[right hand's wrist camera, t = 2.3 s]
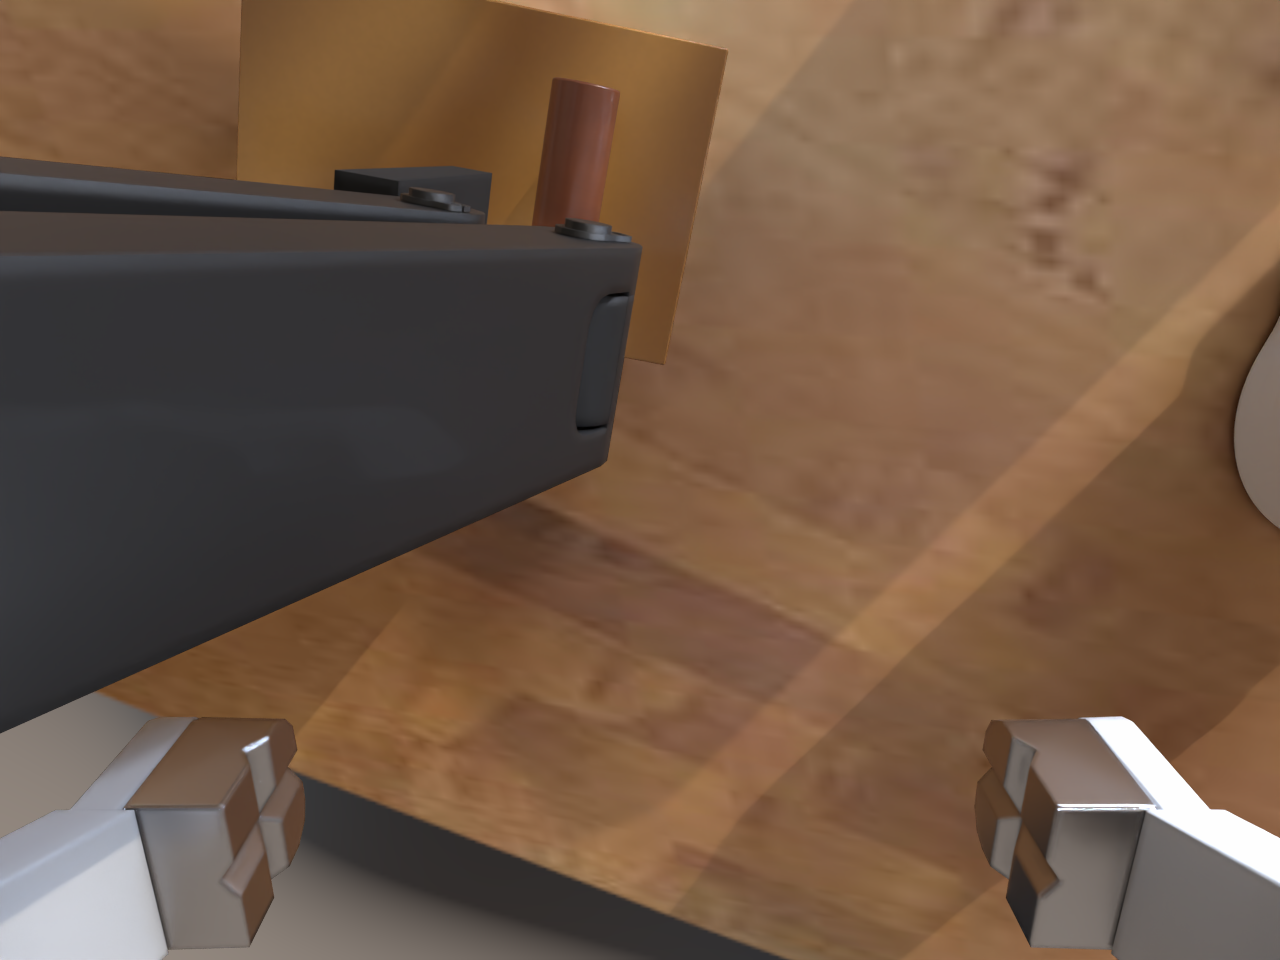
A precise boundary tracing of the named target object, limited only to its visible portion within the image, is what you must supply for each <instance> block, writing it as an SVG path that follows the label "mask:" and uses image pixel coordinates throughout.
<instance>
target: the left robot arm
mask: <svg viewBox="0 0 1280 960" xmlns="http://www.w3.org/2000/svg"><path fill="white" fill-rule="evenodd" d="M491 181H492V173H489V172H484V171H478V170H472V169H467V168H461V167H456V166H433V167H403V168H372V169H342V170H335V173H334V190H331V189H321V188H311V187H301V186H291V185H281V184H270V183H260V182H250V181H240V180H230V179H220V178H210V177H200V176H190V175H180V174H170V173H160V172H150V171H140V170H130V169H120V168H110V167H100V166H90V165H80V164H70V163H60V162H50V161H40V160H30V159H20V158H10V157H0V733H2V732H4V731H7V730H9V729H11V728H13V727H16V726H18V725H20V724H22V723H25V722H27V721H29V720H31V719H34V718H36V717H38V716H40V715H42V714H45V713H47V712H49V711H52V710H54V709H56V708H58V707H61V706H63V705H65V704H67V703H70V702H72V701H74V700H76V699H79V698H81V697H83V696H85V695H88V694H90V693H92V692H94V691H97V690H99V689H101V688H103V687H106V686H108V685H110V684H112V683H115V682H117V681H119V680H121V679H124V678H126V677H128V676H130V675H133V674H135V673H137V672H139V671H142V670H144V669H146V668H148V667H150V666H153V665H155V664H157V663H159V662H162V661H164V660H166V659H168V658H171V657H173V656H175V655H177V654H180V653H182V652H184V651H186V650H189V649H191V648H193V647H195V646H198V645H200V644H202V643H204V642H207V641H209V640H211V639H213V638H216V637H218V636H220V635H222V634H225V633H227V632H229V631H231V630H234V629H236V628H238V627H240V626H243V625H245V624H247V623H249V622H252V621H254V620H256V619H258V618H261V617H263V616H265V615H267V614H270V613H272V612H274V611H276V610H278V609H281V608H283V607H285V606H287V605H290V604H292V603H294V602H296V601H299V600H301V599H303V598H305V597H308V596H310V595H312V594H314V593H317V592H319V591H321V590H323V589H326V588H328V587H330V586H332V585H335V584H337V583H339V582H341V581H344V580H346V579H348V578H350V577H353V576H355V575H357V574H359V573H362V572H364V571H366V570H368V569H371V568H373V567H375V566H377V565H380V564H382V563H384V562H386V561H389V560H391V559H393V558H395V557H398V556H400V555H402V554H404V553H406V552H409V551H411V550H413V549H415V548H418V547H420V546H422V545H424V544H427V543H429V542H431V541H433V540H436V539H438V538H440V537H442V536H445V535H447V534H449V533H451V532H454V531H456V530H458V529H460V528H463V527H465V526H467V525H469V524H472V523H474V522H476V521H478V520H481V519H483V518H485V517H487V516H490V515H492V514H494V513H496V512H499V511H501V510H503V509H505V508H508V507H510V506H512V505H514V504H517V503H519V502H521V501H523V500H526V499H528V498H530V497H532V496H535V495H537V494H539V493H541V492H543V491H546V490H548V489H550V488H552V487H555V486H557V485H559V484H561V483H564V482H566V481H568V480H570V479H573V478H575V477H577V476H579V475H582V474H584V473H586V472H588V471H591V470H593V469H595V468H597V467H600V466H601V465H602V464H604V463H605V462H606V461H607V458H608V452H609V446H610V440H611V434H612V428H613V422H614V416H615V410H616V404H617V398H618V392H619V386H620V380H621V374H622V368H623V362H624V356H625V350H626V344H627V338H628V332H629V326H630V320H631V314H632V308H633V302H634V296H635V290H636V284H637V278H638V272H639V266H640V260H641V254H642V248H643V247H642V246H641V245H640V244H637V243H634V242H631V240H632V236H629V235H626V234H623V233H619V232H613V231H611V230H612V226H611V225H608V224H604V223H600V222H595V221H590V220H584V219H577V218H565V224H556V225H555V227H547V226H523V225H488V224H487V218H488V209H489V199H490V190H491Z"/></svg>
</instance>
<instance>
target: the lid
mask: <svg viewBox="0 0 1280 960" xmlns="http://www.w3.org/2000/svg"><path fill="white" fill-rule="evenodd" d="M727 55H728V49H726V48H722V47H717V46H712V45H707V44H703V43H698V42H693V41H688V40H683V39H679V38H674V37H669V36H664V35H660V34H655V33H650V32H645V31H640V30H636V29H631V28H626V27H621V26H616V25H612V24H607V23H602V22H597V21H592V20H588V19H583V18H578V17H573V16H568V15H564V14H559V13H554V12H549V11H544V10H540V9H535V8H530V7H525V6H521V5H516V4H511V3H506V2H501V1H497V0H242V9H241V42H240V75H239V109H238V142H237V175H236V180H240V181H250V182H260V183H270V184H281V185H291V186H301V187H311V188H321V189H331V190H334V173H335V170H342V169H372V168H403V167H433V166H456V167H461V168H467V169H472V170H478V171H484V172H489V173H492V181H491V190H490V199H489V209H488V218H487V224H488V225H523V226H547V227H555V225H556V224H565V218H577V219H584V220H590V221H595V222H600V223H604V224H608V225H611V226H612V230H611V231H613V232H619V233H623V234H626V235H629V236H632V240H631V242H634V243H637V244H640V245H641V246H642V247H643V248H642V254H641V260H640V266H639V272H638V278H637V284H636V290H635V296H634V302H633V308H632V314H631V320H630V326H629V332H628V338H627V344H626V350H625V356H624V358H630V359H635V360H640V361H646V362H651V363H656V364H661V365H664V364H665V362H666V357H667V352H668V347H669V342H670V337H671V332H672V327H673V322H674V317H675V312H676V307H677V302H678V297H679V293H680V288H681V283H682V278H683V273H684V268H685V263H686V258H687V253H688V248H689V243H690V238H691V233H692V228H693V223H694V218H695V213H696V208H697V203H698V198H699V194H700V189H701V184H702V179H703V174H704V169H705V164H706V159H707V154H708V149H709V144H710V139H711V134H712V129H713V124H714V119H715V114H716V109H717V104H718V99H719V95H720V90H721V85H722V80H723V75H724V70H725V65H726V60H727Z"/></svg>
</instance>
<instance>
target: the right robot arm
mask: <svg viewBox="0 0 1280 960" xmlns="http://www.w3.org/2000/svg"><path fill="white" fill-rule="evenodd" d="M1234 450H1235V458H1236V463H1237V468H1238V471H1239V475H1240V478H1241V480H1242V483H1243V485H1244V487H1245V489H1246V491H1247V493H1248V495H1249V497H1250V498H1251V500H1252V502H1253V503H1254V504H1255V506H1256V507H1257V508H1258V510H1259V511H1260V512H1261V513H1262V514H1263V515H1264V516H1265V517H1266V518H1267V519H1268V520H1269V521H1270V522H1272V523H1273V524H1274V525H1275V526H1277V527H1278V528H1279V529H1280V316H1279V319H1278V321H1277V323H1276V325H1275V327H1274V329H1273V331H1272V332H1271V334H1270V336H1269V337H1268V339H1267V341H1266V342H1265V344H1264V346H1263V347H1262V349H1261V351H1260V352H1259V354H1258V356H1257V358H1256V359H1255V361H1254V363H1253V365H1252V367H1251V369H1250V372H1249V374H1248V376H1247V378H1246V381H1245V384H1244V386H1243V389H1242V392H1241V396H1240V399H1239V403H1238V407H1237V412H1236V418H1235V426H1234ZM296 751H297V745H296V740H295V735H294V731H293V726H292V725H291V724H290V723H289V722H288V721H287V720H286V719H264V718H218V717H202V718H197V717H159V718H156V719H153V720H149V721H148V722H147V723H146V724H145V725H144V726H143V727H142V728H141V729H140V731H139V732H138V733H137V734H136V735H135V736H134V737H133V739H132V740H131V741H130V742H129V743H128V744H127V745H126V746H125V748H124V749H123V750H122V751H121V752H120V753H119V754H118V756H117V757H116V758H115V759H114V760H113V761H112V762H111V764H110V765H109V766H108V767H107V768H106V769H105V770H104V772H103V773H102V774H101V775H100V776H99V777H98V778H97V779H96V781H95V782H94V783H93V784H92V785H91V786H90V787H89V789H88V790H87V791H86V792H85V793H84V794H83V795H82V796H81V798H80V799H79V800H78V801H77V802H76V803H75V804H74V806H73V807H72V808H71V809H70V810H54V811H52V812H50V813H49V814H47V815H45V816H43V817H41V818H39V819H37V820H35V821H33V822H31V823H29V824H27V825H25V826H23V827H21V828H19V829H17V830H15V831H13V832H11V833H9V834H7V835H6V836H4V837H2V838H0V960H162V959H163V958H164V957H166V956H167V955H168V950H171V949H206V948H240V947H250V945H251V943H252V941H253V939H254V937H255V935H256V933H257V931H258V929H259V927H260V925H261V923H262V921H263V919H264V917H265V915H266V913H267V911H268V909H269V907H270V905H271V903H272V901H273V899H274V894H273V888H272V882H271V879H273V878H274V877H275V876H277V875H278V874H279V873H281V872H282V871H284V870H285V869H286V868H288V867H289V866H290V864H291V862H292V860H293V858H294V856H295V853H296V851H297V849H298V847H299V843H300V839H301V835H302V830H303V826H304V821H305V796H304V789H303V782H302V781H301V780H300V779H299V778H298V777H297V776H296V775H295V774H294V773H293V772H292V771H291V770H290V769H289V768H288V766H289V764H290V762H291V760H292V758H293V757H294V755H295V753H296ZM983 751H984V753H985V755H986V757H987V759H988V760H989V762H990V764H991V766H992V768H991V769H990V770H989V771H988V772H987V773H986V774H985V775H984V776H983V777H982V778H981V779H980V780H979V781H978V782H977V790H976V799H975V816H976V827H977V833H978V836H979V840H980V843H981V846H982V849H983V852H984V854H985V856H986V858H987V860H988V862H989V864H990V866H991V867H992V868H994V869H995V870H996V871H998V872H999V873H1001V874H1002V875H1003V876H1005V877H1006V878H1007V879H1009V882H1008V888H1007V894H1006V899H1007V901H1008V903H1009V905H1010V907H1011V909H1012V911H1013V913H1014V915H1015V917H1016V919H1017V921H1018V923H1019V925H1020V927H1021V929H1022V931H1023V933H1024V935H1025V937H1026V939H1027V941H1028V943H1029V945H1030V947H1038V948H1073V949H1108V950H1112V952H1111V954H1113V955H1114V956H1115V957H1116V958H1117V959H1118V960H1280V838H1278V837H1276V836H1274V835H1272V834H1270V833H1269V832H1267V831H1265V830H1263V829H1261V828H1259V827H1257V826H1255V825H1253V824H1251V823H1249V822H1247V821H1245V820H1243V819H1241V818H1239V817H1237V816H1235V815H1233V814H1231V813H1230V812H1228V811H1226V810H1210V809H1209V808H1208V807H1207V806H1206V804H1205V803H1204V802H1203V801H1202V800H1201V799H1200V798H1199V796H1198V795H1197V794H1196V793H1195V792H1194V791H1193V790H1192V789H1191V787H1190V786H1189V785H1188V784H1187V783H1186V782H1185V781H1184V779H1183V778H1182V777H1181V776H1180V775H1179V774H1178V773H1177V771H1176V770H1175V769H1174V768H1173V767H1172V766H1171V765H1170V764H1169V762H1168V761H1167V760H1166V759H1165V758H1164V757H1163V756H1162V754H1161V753H1160V752H1159V751H1158V750H1157V749H1156V748H1155V746H1154V745H1153V744H1152V743H1151V742H1150V741H1149V740H1148V739H1147V737H1146V736H1145V735H1144V734H1143V733H1142V732H1141V731H1140V729H1139V728H1138V727H1137V726H1136V725H1135V724H1134V723H1133V722H1132V721H1130V720H1128V719H1126V718H1124V717H1122V716H1120V717H1088V718H1078V719H1031V720H991V722H990V724H989V726H988V728H987V730H986V733H985V739H984V745H983Z"/></svg>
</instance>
